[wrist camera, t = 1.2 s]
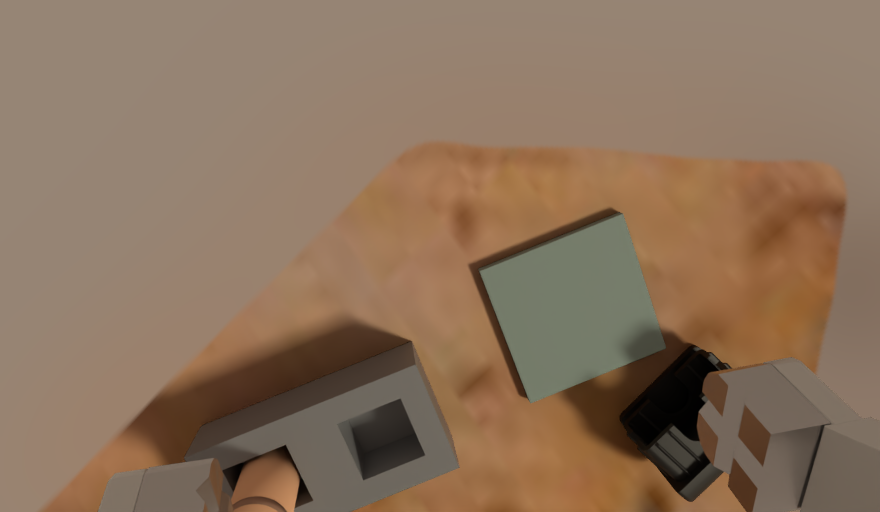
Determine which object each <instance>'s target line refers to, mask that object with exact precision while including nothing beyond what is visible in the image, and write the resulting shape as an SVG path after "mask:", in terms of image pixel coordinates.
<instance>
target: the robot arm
mask: <svg viewBox="0 0 880 512" xmlns="http://www.w3.org/2000/svg"><path fill="white" fill-rule="evenodd" d="M702 392H703V393H704V395H705V396H706V397H707V398H708V401H707V402H706V404H705V405H704V406H703V407H702V408H701V409H700V411H699V413H698V422H697V430H698V435H699V440H700V444H701V446H702V448H703V450H704V453H705V455H706V456H707V458H708V459H709V460H710V462H711V463H712V465H713V466H714V467H716V468H718V469H720V470H722V471H724V472H726V473H727V474H729V482H728V487H729V488H730V490H731V491H732V493H733V494H734V495H735V497H736V498H737V499H738V501H739V502H740V503H741V505H742V506H743V508H744V509H745V510H746V512H788V511H794V510H800V509H801V510H800V512H880V421H879V420H877V419H874V418H872V417H870V418H864V419H862V418H861V417H860V416H859V415H858V414H857V413H856V412H855V411H854V410H853V409H852V408H851V407H849V406H848V405H847V404H846V403H845V402H844V401H843V400H842V399H841V398H840V397H839V396H838V395H836V394H835V393H834V392H833V391H832V390H831V389H830V388H829V387H828V386H827V385H826V384H825V383H824V382H822V381H821V380H820V379H819V378H818V377H817V376H816V375H815V374H814V373H813V372H812V371H811V370H810V369H808V368H807V367H806V366H805V365H804V364H803V363H802V362H801V361H799V360H797V359H795V358H792V357H790V358H785V359H779V360H774V361H769V362H764V363H763V364H754V365H749V366H743V367H738V368H732V369H727V370H721V371H716V372H710V373H708V375H707V376H706V378H705V379H704V383H703V389H702ZM222 483H223V473H222V470H221V467H220V464H219V461H218V460H217V459H215V458H210V459H204V460H197V461H190V462H183V463H177V464H170V465H163V466H156V467H150V468H149V469H142V470H134V471H127V472H120V473H115V474H114V475H113V476H112V477H111V479H110V480H109V481H108V483H107V486H106V489H105V492H104V495H103V498H102V501H101V504H100V507H99V510H98V512H234V511H233V506H232V502H231V499H230V496H229V495H228V494H226V493H225V492H223V491H222Z"/></svg>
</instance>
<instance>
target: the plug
mask: <svg viewBox="0 0 880 512" xmlns="http://www.w3.org/2000/svg"><path fill="white" fill-rule="evenodd" d="M300 477H301V475H300V472H299V470H298V468H297V466H296V464H295V462H294V460H293V458H292V456H291V454H290V452H289V450H288V448H287V446H286V445H284V446H281V447H279V448H276V449H274V450H271V451H269V452H266V453H264V454H261V455H259V456H256V457H254V458H252V459H249V460H247V461H245V462H244V465H243V468H242V471H241V473H240V476H239V479H238V482H237V484H236V487H235V490H234V493H233V496H232V498H231V502H232V506H233V511H234V512H294V508H295V503H296V498H297V493H298V488H299V482H300Z"/></svg>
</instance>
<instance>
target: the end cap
mask: <svg viewBox="0 0 880 512" xmlns="http://www.w3.org/2000/svg"><path fill="white" fill-rule="evenodd" d="M727 369H732V368H731V367H730V366H729V365H728V364H727V363H722V362H721V361H720V360H719V359H718V358H717V357H716V356H715V355H714V354H713V353H711V352H706V351H705V350H703V349H700V348H699V347H697V346H696V345H692V346H690V347H689V348H688V349H687V350H686V351H685V352H684V353H683V354H681V355H680V356H679V357H678V358H677V359H676V360H675V361H674V362H673V363H672V364H671V365H670V366H669V367H668V368H667V369H666V370H665V371H664V372H663V373H662V374H661V375H660V376H659V377H658V378H657V379H656V380H655V381H654V382H653V383H652V384H651V385H650V386H649V387H648V388H647V389H646V390H645V391H644V392H643V393H642V394H641V395H640V396H639V397H638V398H637V399H636V400H635V401H634V402H633V403H632V404H631V405H630V406H629V407H628V408H627V409H625V410H624V411H623V412H622V413H621V415H620V421H621V423H622V424H623V425H624V428H625V429H626V431H627V436H628V437H629V438H630V439H631V440H633V441H634V442H635V443H636V444H637V445H638V450H639V451H640V452H641V453H642V454H643V455H645V456H646V457H647V458H648V459H649V460H650V461H651V462H652V463H653V464H654V465H655V466H656V467H657V468H658V469H659V471H660V472H661V473H662V474H663V476H664V477H665V478H666V479H667V481H668V482H669V483H670V484H671V486H672V487H673V488H674V489H675V491H676V492H677V493H678V494H679V495H681V496H682V497H683V498H684V499H686V500H687V501H689V502H693V501H694V500H695V499H696V498H697V497H698V496H699V495H700V494H701V493H702V492H703V491H704V490H705V489H706V488H708V487H709V486H710V485H711V484H712V483H713V482H714V481H715V480H716V479H717V478H718V477H719V476H720V475H721V474H722V473H723V472H724V471H722V470H720V469H718V468H716V467H714V466H713V465H712V463H711V462H710V460H709V459H708V458H707V456H706V455H705V453H704V450H703V448H702V446H701V444H700V440H699V435H698V430H697V422H698V413H699V411H700V409H701V408H702V407H703V406H704V405H705V404H706V402H707V401H708V398H707V397H706V396H705V395H704V393H703V392H702V389H703V383H704V379H705V378H706V376H707V375H708V373H710V372H716V371H721V370H727Z"/></svg>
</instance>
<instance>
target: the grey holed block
mask: <svg viewBox="0 0 880 512" xmlns="http://www.w3.org/2000/svg"><path fill="white" fill-rule="evenodd" d="M284 445H286V446H287V448H288V450H289V452H290V454H291V456H292V458H293V460H294V462H295V464H296V466H297V468H298V470H299V472H300V475H301V477H300V482H299V488H298V493H297V498H296V503H295V508H294V512H351V511H354V510H356V509H359V508H361V507H363V506H366V505H368V504H371V503H373V502H376V501H378V500H381V499H383V498H386V497H388V496H391V495H393V494H396V493H398V492H400V491H403V490H405V489H408V488H410V487H413V486H415V485H418V484H420V483H423V482H425V481H428V480H430V479H433V478H435V477H437V476H440V475H442V474H445V473H447V472H450V471H452V470H455V469H457V468H460V467H459V463H458V459H457V455H456V451H455V447H454V443H453V438H452V435H451V433H450V430H449V428H448V426H447V423H446V421H445V419H444V416H443V414H442V411H441V409H440V407H439V404H438V402H437V400H436V397H435V395H434V393H433V390H432V388H431V385H430V383H429V381H428V378H427V376H426V374H425V371H424V369H423V366H422V364H421V362H420V359H419V357H418V355H417V352H416V350H415V348H414V345H413V343H412V341H411V342H408V343H406V344H404V345H401V346H399V347H396V348H394V349H391V350H389V351H386V352H384V353H381V354H379V355H376V356H374V357H371V358H369V359H366V360H364V361H361V362H359V363H356V364H354V365H351V366H349V367H346V368H344V369H341V370H339V371H336V372H334V373H331V374H329V375H327V376H324V377H322V378H319V379H317V380H314V381H312V382H309V383H307V384H304V385H302V386H299V387H297V388H294V389H292V390H289V391H287V392H284V393H282V394H279V395H277V396H274V397H272V398H269V399H267V400H264V401H262V402H259V403H257V404H255V405H252V406H250V407H247V408H245V409H242V410H240V411H237V412H235V413H232V414H230V415H227V416H225V417H222V418H220V419H217V420H215V421H212V422H210V423H207V424H205V425H202V426H201V427H200V429H199V431H198V433H197V434H196V436H195V438H194V440H193V442H192V444H191V446H190V447H189V449H188V451H187V453H186V455H185V457H184V459H185V461H186V462H190V461H197V460H204V459H210V458H215V459H217V460H218V461H219V464H220V467H221V470H222V473H223V483H222V491H223V492H225V493H226V494H228V495H229V496H230V499H231V498H232V496H233V493H234V490H235V487H236V484H237V482H238V479H239V476H240V473H241V471H242V468H243V465H244V462H245V461H247V460H249V459H252V458H254V457H256V456H259V455H261V454H264V453H266V452H269V451H271V450H274V449H276V448H279V447H281V446H284Z"/></svg>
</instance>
